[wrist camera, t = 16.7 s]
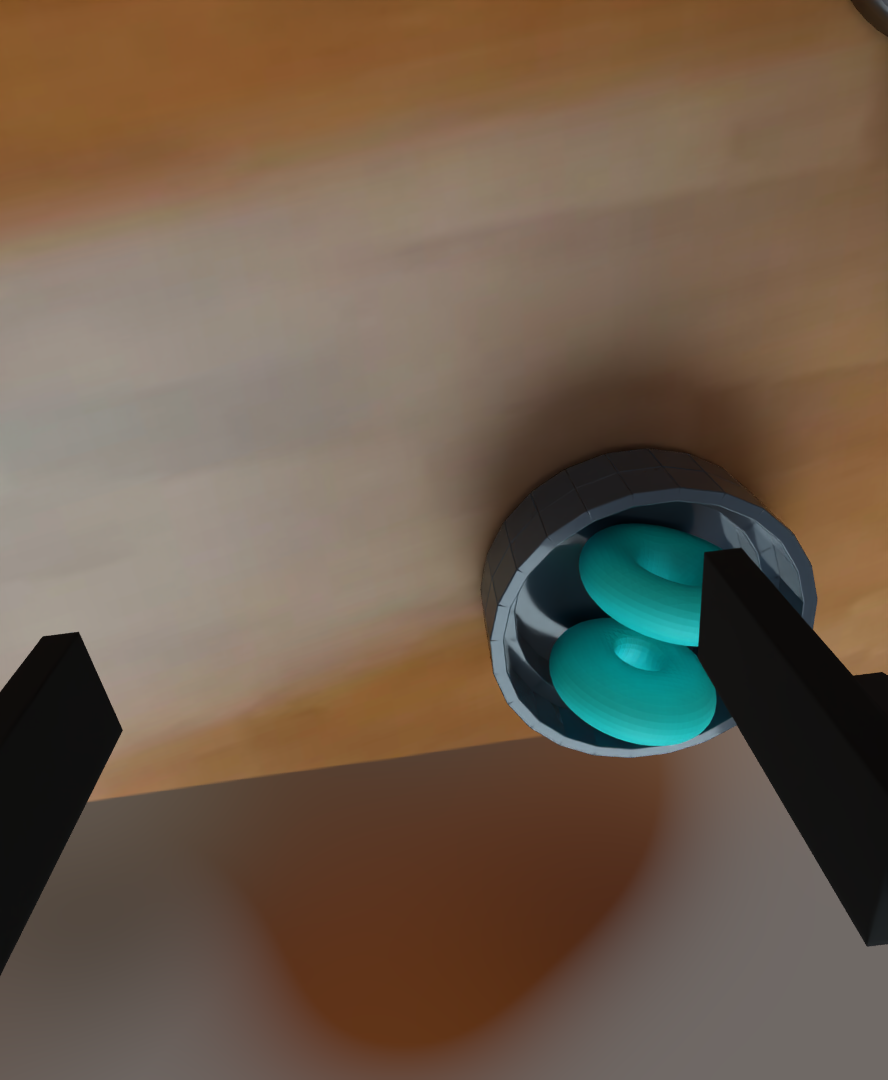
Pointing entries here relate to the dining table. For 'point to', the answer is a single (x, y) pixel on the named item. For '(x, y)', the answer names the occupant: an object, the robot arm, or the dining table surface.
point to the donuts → (638, 638)
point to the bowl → (559, 594)
